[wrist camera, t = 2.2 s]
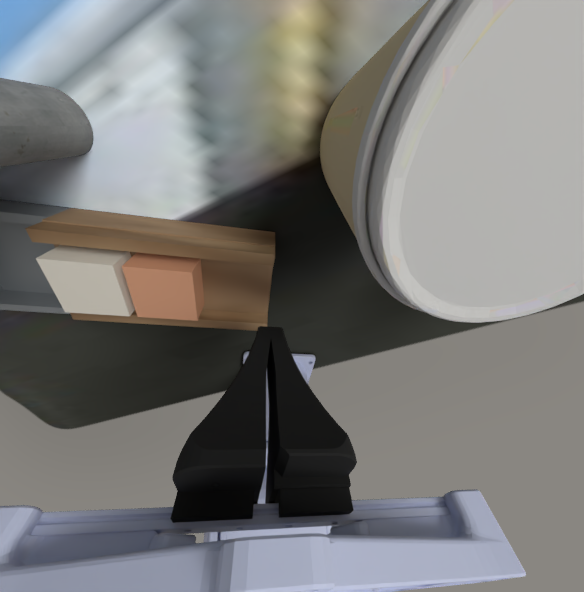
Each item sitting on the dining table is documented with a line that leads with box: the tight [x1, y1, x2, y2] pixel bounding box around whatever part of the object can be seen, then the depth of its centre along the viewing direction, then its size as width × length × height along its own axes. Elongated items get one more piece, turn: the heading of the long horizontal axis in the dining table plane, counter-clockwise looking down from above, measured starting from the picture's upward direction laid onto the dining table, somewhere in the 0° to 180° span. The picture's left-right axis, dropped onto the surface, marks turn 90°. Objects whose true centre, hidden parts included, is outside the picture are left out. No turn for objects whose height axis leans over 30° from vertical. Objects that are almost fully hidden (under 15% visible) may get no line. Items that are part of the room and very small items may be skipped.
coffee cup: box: [320, 0, 584, 323], centre depth 10 cm, size 9×9×12 cm
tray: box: [0, 200, 70, 314], centre depth 17 cm, size 8×8×2 cm
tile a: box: [122, 252, 205, 321], centre depth 16 cm, size 4×4×2 cm
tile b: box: [36, 245, 135, 316], centre depth 15 cm, size 4×4×2 cm
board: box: [25, 208, 275, 331], centre depth 17 cm, size 7×14×4 cm, turn 82°
